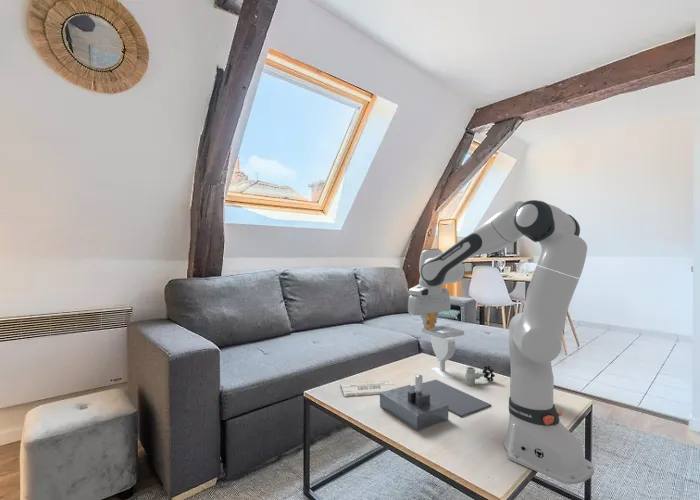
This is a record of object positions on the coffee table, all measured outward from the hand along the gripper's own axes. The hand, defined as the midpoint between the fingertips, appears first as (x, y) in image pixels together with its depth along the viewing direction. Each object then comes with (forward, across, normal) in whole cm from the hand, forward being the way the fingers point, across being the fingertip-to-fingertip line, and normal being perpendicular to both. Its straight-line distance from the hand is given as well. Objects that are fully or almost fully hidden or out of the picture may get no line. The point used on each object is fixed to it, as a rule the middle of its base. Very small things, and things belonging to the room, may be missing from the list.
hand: (429, 323), depth 145 cm
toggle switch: (+27, +17, +10) cm, 34 cm away
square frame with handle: (+2, 0, +5) cm, 6 cm away
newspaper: (+28, +20, -15) cm, 37 cm away
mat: (+27, -3, +7) cm, 28 cm away
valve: (+28, -25, +4) cm, 37 cm away
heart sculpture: (+28, -21, -12) cm, 37 cm away
